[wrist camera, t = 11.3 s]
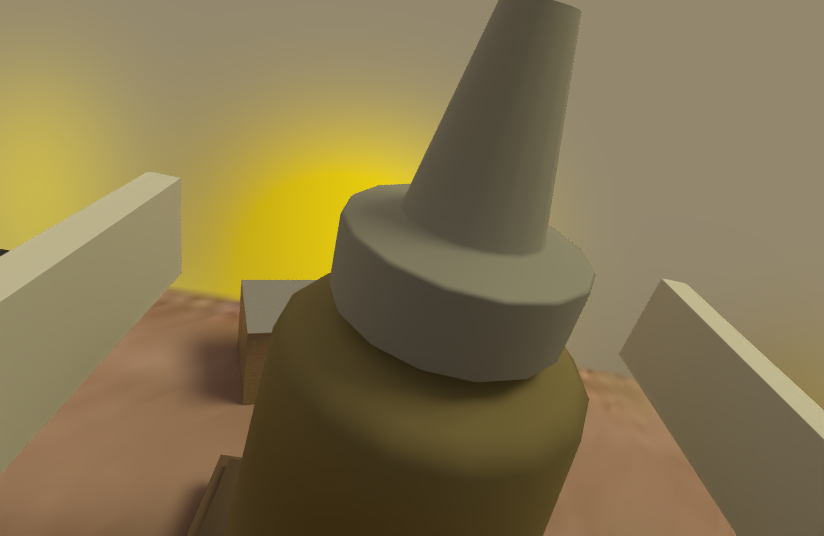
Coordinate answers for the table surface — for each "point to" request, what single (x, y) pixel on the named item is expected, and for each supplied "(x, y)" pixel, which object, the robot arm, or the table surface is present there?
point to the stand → (217, 499)
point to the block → (259, 327)
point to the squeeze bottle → (437, 327)
